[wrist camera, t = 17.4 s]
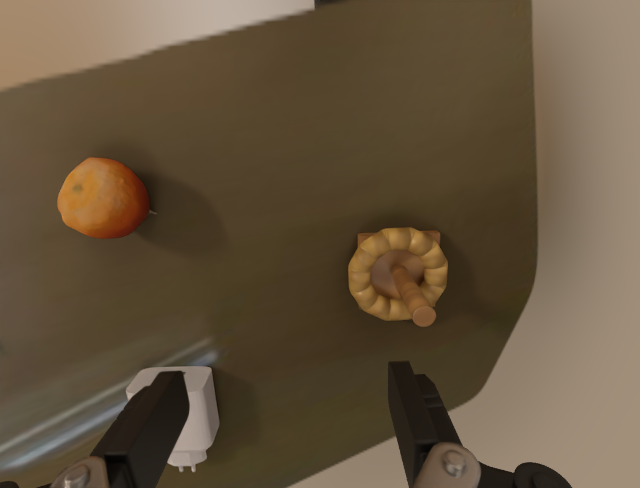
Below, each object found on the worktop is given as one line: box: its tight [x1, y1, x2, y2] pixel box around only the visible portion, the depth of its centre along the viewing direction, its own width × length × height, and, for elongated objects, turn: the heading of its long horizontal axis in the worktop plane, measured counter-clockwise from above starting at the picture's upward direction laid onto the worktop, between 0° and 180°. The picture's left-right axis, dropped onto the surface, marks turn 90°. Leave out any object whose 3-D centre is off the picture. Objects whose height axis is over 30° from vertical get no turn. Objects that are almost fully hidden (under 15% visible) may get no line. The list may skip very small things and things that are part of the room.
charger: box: [126, 366, 220, 472], centre depth 43 cm, size 5×9×15 cm
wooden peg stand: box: [358, 230, 440, 327], centre depth 34 cm, size 9×9×11 cm
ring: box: [348, 227, 448, 321], centre depth 37 cm, size 11×11×2 cm
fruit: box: [57, 157, 158, 239], centre depth 34 cm, size 8×8×8 cm
